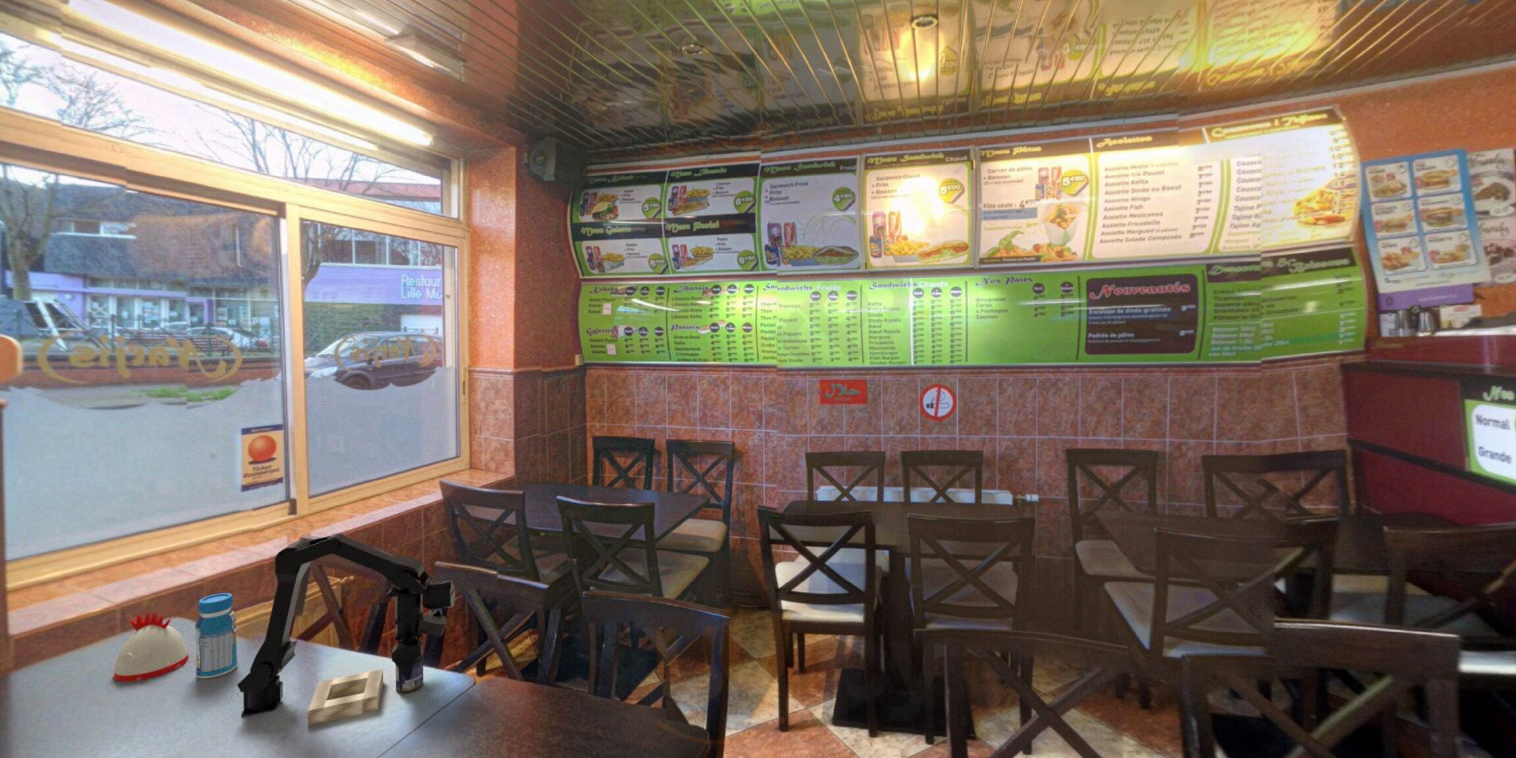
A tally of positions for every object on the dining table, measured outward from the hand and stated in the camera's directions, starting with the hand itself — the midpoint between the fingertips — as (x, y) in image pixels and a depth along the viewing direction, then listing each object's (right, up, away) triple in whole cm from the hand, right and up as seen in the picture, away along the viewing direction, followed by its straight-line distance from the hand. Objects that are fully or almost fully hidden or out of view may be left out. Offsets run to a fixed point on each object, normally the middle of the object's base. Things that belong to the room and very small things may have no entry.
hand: (409, 670), depth 151 cm
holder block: (-11, -5, -7) cm, 14 cm away
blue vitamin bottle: (-55, -4, +6) cm, 56 cm away
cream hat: (-74, -3, +8) cm, 74 cm away
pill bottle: (0, -5, 0) cm, 5 cm away
